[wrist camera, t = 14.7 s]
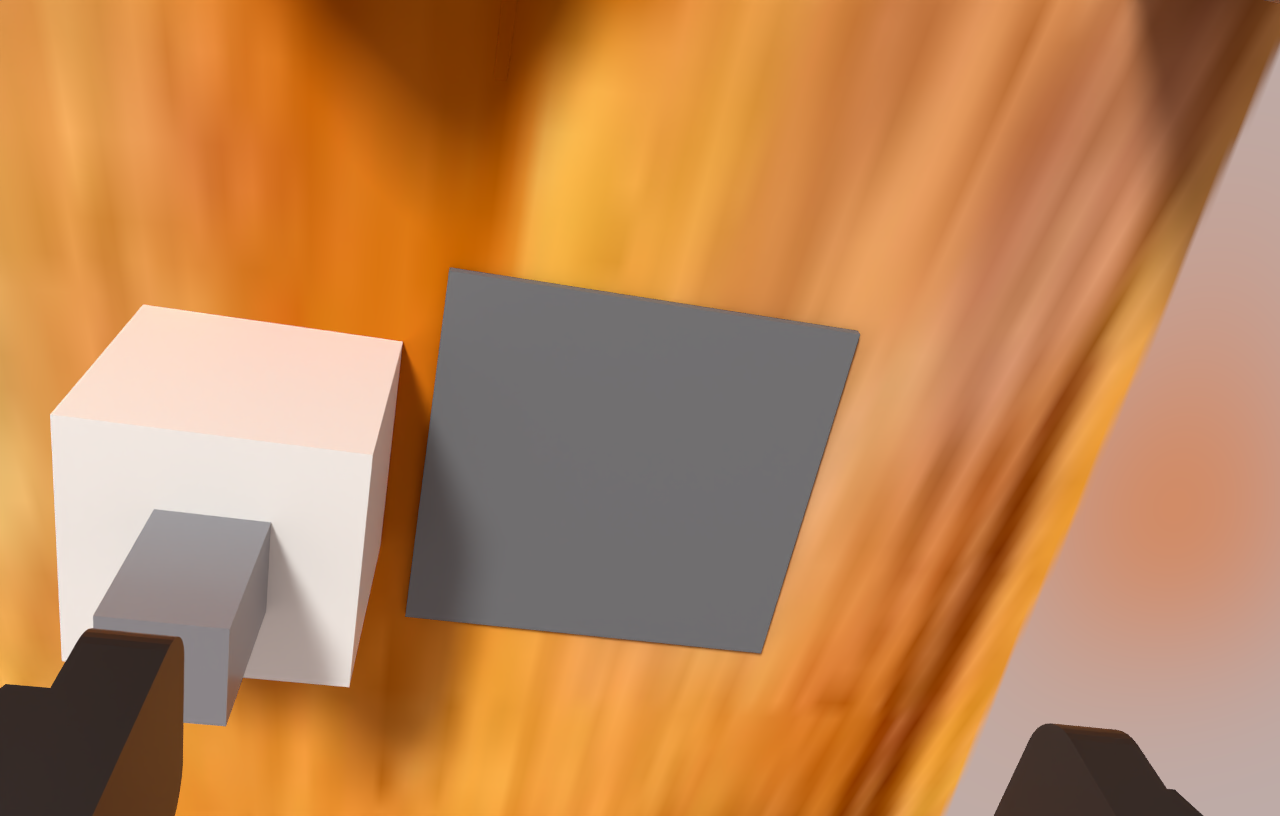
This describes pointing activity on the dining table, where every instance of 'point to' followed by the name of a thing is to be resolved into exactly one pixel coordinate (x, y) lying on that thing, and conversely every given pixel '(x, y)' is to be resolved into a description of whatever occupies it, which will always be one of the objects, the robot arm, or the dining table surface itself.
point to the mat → (618, 462)
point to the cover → (226, 496)
